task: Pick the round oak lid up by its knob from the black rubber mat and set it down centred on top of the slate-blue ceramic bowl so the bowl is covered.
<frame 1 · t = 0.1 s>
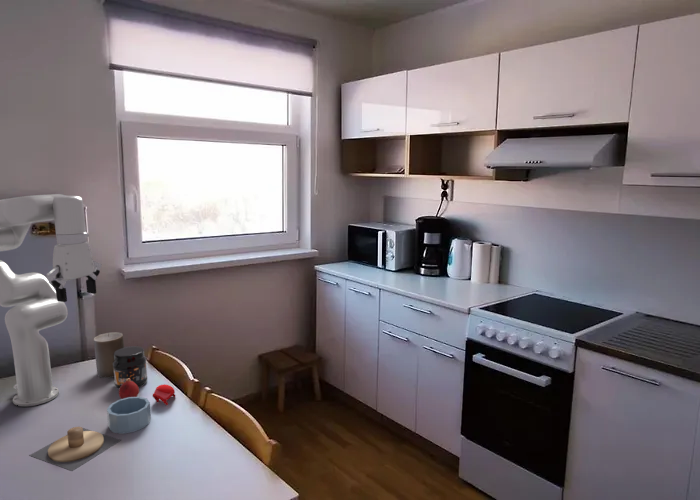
hand: (77, 297, 144), 37 cm above the table, tool pointing down, fingers open, 9 cm apart
bowl: (130, 424, 144), on the table
pillar candle: (111, 372, 180), on the table
lid: (76, 447, 132), point 1 cm above the table, touching mat
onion: (129, 402, 158), on the table
mat: (76, 449, 132), on the table
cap: (165, 402, 158), on the table
supplement container: (131, 384, 171), on the table
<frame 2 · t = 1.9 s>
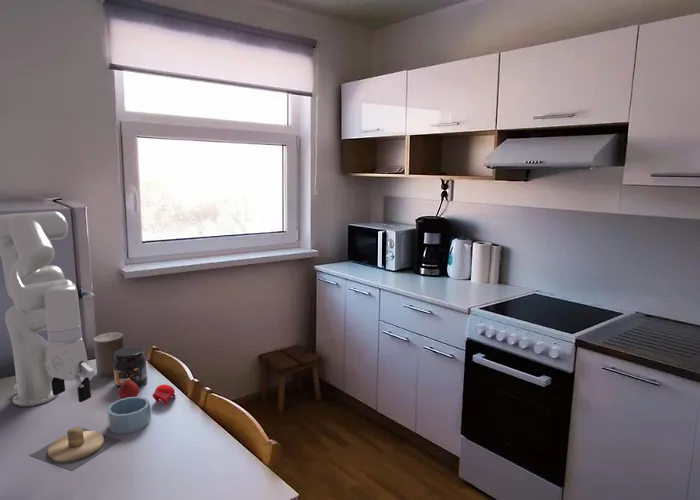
hand: (71, 396, 129), 15 cm above the table, tool pointing down, fingers open, 9 cm apart
nothing on the table moved.
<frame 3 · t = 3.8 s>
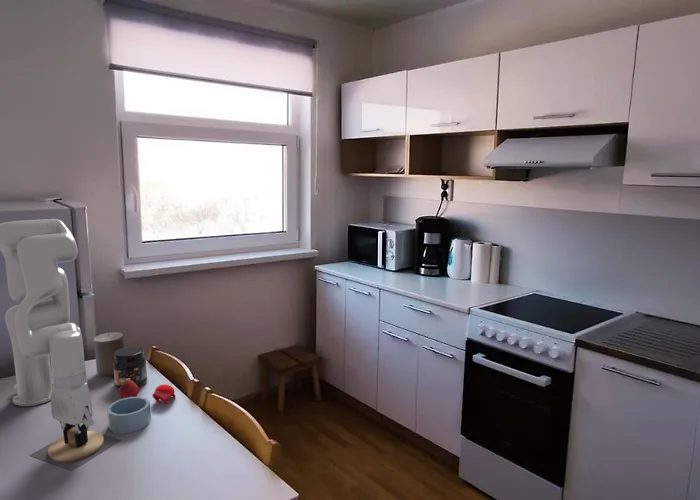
hand: (76, 442, 132), 2 cm above the table, tool pointing down, fingers closed on lid, 3 cm apart
lid: (76, 447, 132), point 1 cm above the table, touching gripper, mat
everything else where it was.
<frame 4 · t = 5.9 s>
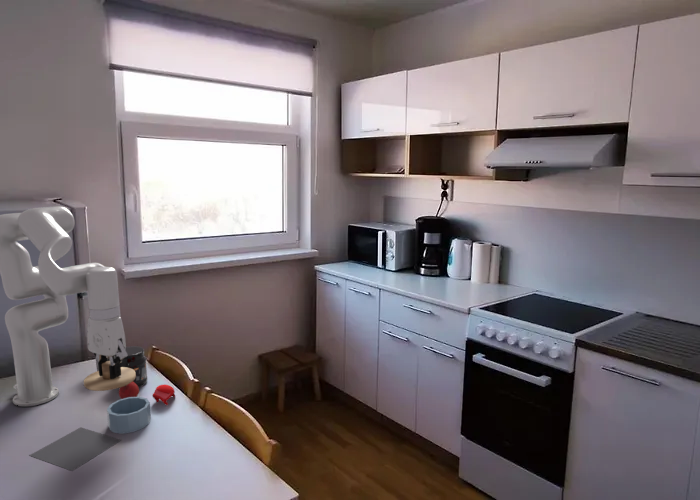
hand: (110, 375, 137), 17 cm above the table, tool pointing down, fingers closed on lid, 3 cm apart
lid: (110, 380, 138), point 16 cm above the table, touching gripper
everything else where it was.
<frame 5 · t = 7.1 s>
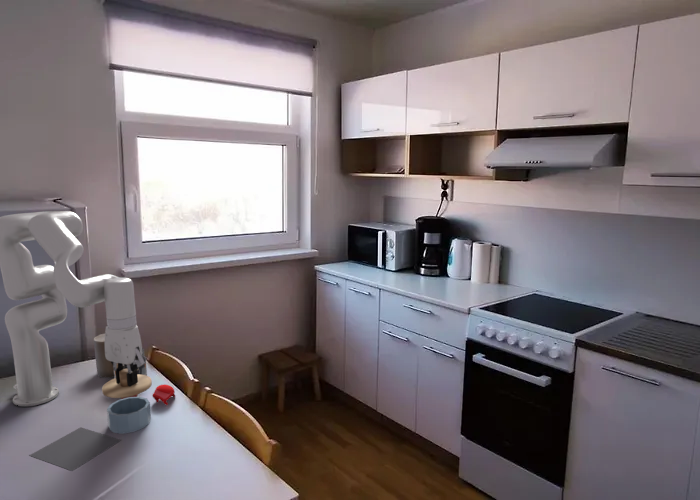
hand: (127, 382, 142), 13 cm above the table, tool pointing down, fingers closed on lid, 3 cm apart
lid: (127, 387, 142), point 12 cm above the table, touching gripper
everything else where it was.
when the fingers open (8 cm above the table, at t = 8.2 s): lid stays where it is, resting on bowl.
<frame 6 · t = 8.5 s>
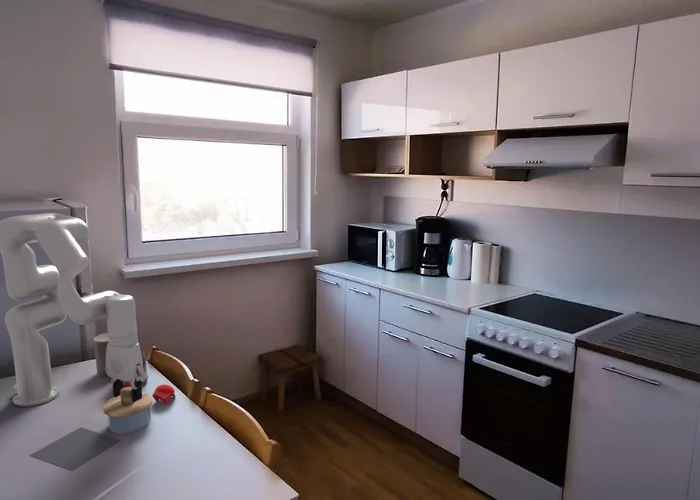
hand: (127, 397, 143), 9 cm above the table, tool pointing down, fingers open, 6 cm apart
lid: (128, 405, 143), point 6 cm above the table, touching bowl
everything else where it was.
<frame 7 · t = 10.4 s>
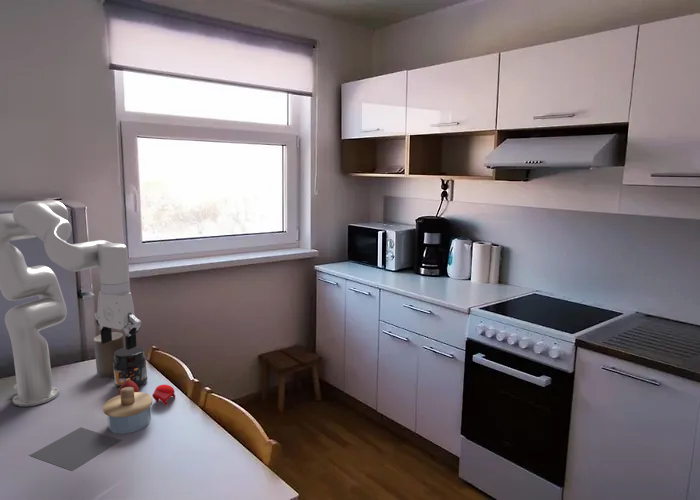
hand: (118, 345, 142), 24 cm above the table, tool pointing down, fingers open, 9 cm apart
nothing on the table moved.
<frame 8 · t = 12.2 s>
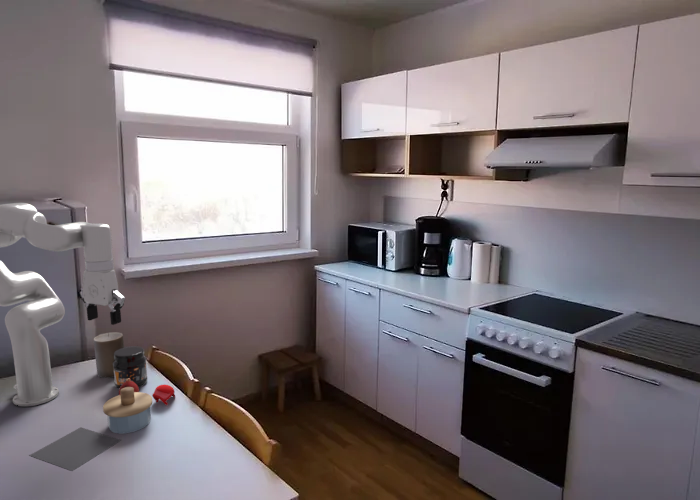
hand: (104, 321, 149), 28 cm above the table, tool pointing down, fingers open, 9 cm apart
nothing on the table moved.
at the end: lid 0.1 cm from the bowl (horizontally); lid point 6.0 cm above the table; lid tilted 0° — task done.
